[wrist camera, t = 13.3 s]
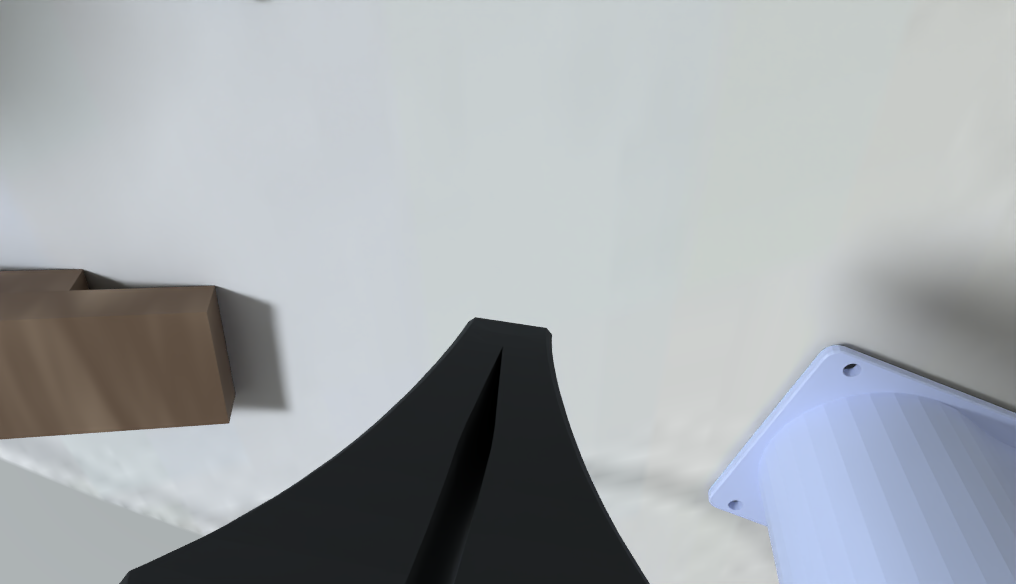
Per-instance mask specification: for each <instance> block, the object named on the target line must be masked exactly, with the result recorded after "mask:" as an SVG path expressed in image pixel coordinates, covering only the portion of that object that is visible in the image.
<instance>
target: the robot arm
mask: <svg viewBox="0 0 1016 584" xmlns="http://www.w3.org/2000/svg"><path fill="white" fill-rule="evenodd" d="M848 364H857V365H856V366H855V367H853V368H850V369H844V367H845V366H847V365H848ZM708 495H709V502H710V503H711V505H712V506H714V507H716V508H718V509H721V510H724V511H727V512H729V513H732V514H735V515H738V516H740V517H743V518H746V519H749V520H751V521H754V522H757V523H759V524H762V525H765V526H768V531H769V536H770V541H771V546H772V550H773V555H774V560H775V565H776V569H777V574H778V579H779V584H1016V413H1014V412H1012V411H1009V410H1007V409H1004V408H1002V407H999V406H996V405H994V404H991V403H989V402H986V401H984V400H981V399H979V398H976V397H973V396H971V395H968V394H966V393H963V392H961V391H958V390H955V389H953V388H950V387H948V386H945V385H943V384H940V383H937V382H935V381H932V380H930V379H927V378H925V377H922V376H919V375H917V374H914V373H912V372H909V371H907V370H904V369H901V368H899V367H896V366H894V365H891V364H889V363H886V362H883V361H881V360H878V359H876V358H873V357H871V356H868V355H865V354H863V353H860V352H858V351H855V350H853V349H850V348H848V347H845V346H841V345H833V346H829V347H827V348H825V349H823V350H822V351H821V352H820V353H819V354H818V356H817V357H816V358H815V359H814V361H813V362H812V363H811V364H810V366H809V367H808V368H807V369H806V370H805V372H804V373H803V374H802V375H801V377H800V378H799V379H798V380H797V382H796V383H795V384H794V385H793V387H792V388H791V389H790V390H789V391H788V393H787V394H786V395H785V396H784V398H783V399H782V400H781V401H780V403H779V404H778V405H777V406H776V407H775V409H774V410H773V411H772V412H771V414H770V415H769V416H768V417H767V419H766V420H765V421H764V422H763V424H762V425H761V426H760V427H759V428H758V430H757V431H756V432H755V433H754V435H753V436H752V437H751V438H750V440H749V441H748V442H747V443H746V445H745V446H744V447H743V448H742V449H741V451H740V452H739V453H738V454H737V456H736V457H735V458H734V459H733V461H732V462H731V463H730V464H729V466H728V467H727V468H726V469H725V470H724V472H723V473H722V474H721V475H720V477H719V478H718V479H717V480H716V482H715V483H714V484H713V485H712V486H711V488H710V489H709V491H708ZM734 500H738V501H735V502H734ZM119 584H649V582H648V580H647V579H646V577H645V576H644V574H643V572H642V571H641V569H640V567H639V566H638V564H637V563H636V561H635V559H634V558H633V556H632V554H631V553H630V551H629V550H628V548H627V546H626V545H625V543H624V541H623V540H622V538H621V537H620V535H619V533H618V531H617V529H616V528H615V526H614V524H613V522H612V520H611V518H610V516H609V514H608V513H607V511H606V509H605V507H604V505H603V503H602V501H601V499H600V497H599V495H598V493H597V491H596V488H595V486H594V484H593V482H592V480H591V478H590V475H589V473H588V471H587V469H586V466H585V464H584V461H583V459H582V457H581V454H580V451H579V449H578V446H577V444H576V441H575V438H574V436H573V433H572V430H571V427H570V424H569V421H568V418H567V415H566V411H565V408H564V404H563V401H562V398H561V394H560V391H559V387H558V382H557V378H556V373H555V368H554V362H553V355H552V334H551V333H550V332H549V331H548V329H547V328H543V327H536V326H529V325H523V324H516V323H509V322H503V321H496V320H489V319H483V318H476V317H475V318H474V319H472V320H471V321H469V322H468V323H467V325H466V326H465V328H464V329H463V330H462V332H461V333H460V334H459V336H458V337H457V338H456V340H455V341H454V342H453V344H452V345H451V346H450V347H449V348H448V350H447V351H446V352H445V353H444V354H443V355H442V357H441V358H440V359H439V360H438V361H437V362H436V364H435V365H434V366H433V367H432V368H431V369H430V370H429V371H428V372H427V373H426V374H425V375H424V376H423V378H422V379H421V380H420V381H419V382H418V383H417V384H416V385H415V386H414V387H413V388H412V389H411V390H410V391H409V392H408V393H407V394H406V395H405V396H404V397H403V398H402V399H401V400H400V401H399V402H398V403H397V404H396V405H395V406H393V407H392V408H391V409H390V410H389V411H388V412H387V413H386V414H385V415H384V416H383V417H382V418H381V419H380V420H378V421H377V422H376V423H375V424H374V425H373V426H372V427H370V428H369V429H368V430H367V431H366V432H365V433H363V434H362V435H361V436H360V437H359V438H357V439H356V440H355V441H354V442H352V443H351V444H350V445H348V446H347V447H346V448H345V449H343V450H342V451H341V452H339V453H338V454H337V455H336V456H334V457H333V458H332V459H330V460H329V461H327V462H326V463H324V464H323V465H322V466H320V467H319V468H317V469H316V470H314V471H313V472H312V473H310V474H309V475H307V476H306V477H305V478H303V479H302V480H300V481H299V482H297V483H296V484H294V485H293V486H291V487H290V488H288V489H286V490H285V491H283V492H282V493H280V494H279V495H277V496H275V497H274V498H272V499H270V500H268V501H267V502H265V503H263V504H262V505H260V506H258V507H256V508H255V509H253V510H251V511H249V512H248V513H246V514H244V515H242V516H241V517H239V518H237V519H236V520H234V521H232V522H230V523H229V524H227V525H225V526H223V527H221V528H219V529H218V530H216V531H214V532H212V533H210V534H208V535H206V536H204V537H202V538H200V539H198V540H196V541H194V542H192V543H190V544H187V545H185V546H183V547H181V548H179V549H177V550H174V551H172V552H170V553H168V554H166V555H164V556H162V557H160V558H157V559H155V560H153V561H151V562H149V563H147V564H144V565H142V566H140V567H138V568H135V569H133V570H131V571H129V572H128V573H127V575H126V576H125V577H124V579H123V580H122V581H121V582H120V583H119Z"/></svg>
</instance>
